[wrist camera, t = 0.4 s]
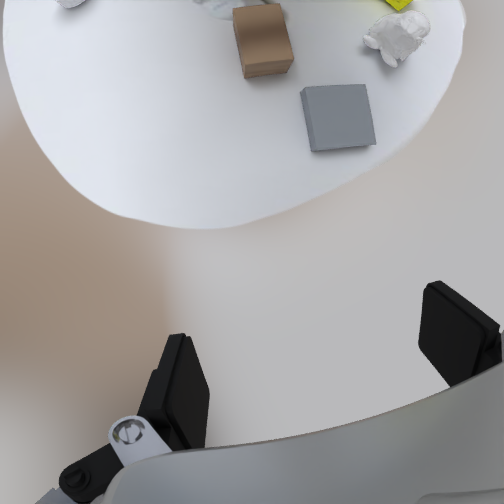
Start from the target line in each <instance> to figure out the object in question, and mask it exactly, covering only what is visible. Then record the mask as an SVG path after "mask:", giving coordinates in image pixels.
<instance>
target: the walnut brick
mask: <svg viewBox="0 0 504 504" xmlns="http://www.w3.org/2000/svg"><path fill="white" fill-rule="evenodd" d="M233 25H234V32H235V36H236V41H237V46H238V51H239V56H240V60H241V65H242V70H243V75H244V78H250V77H257V76H264V75H271V74H280V73H287V71H288V69H289V67H290V65H291V63H292V62H293V60H294V57H293V53H292V48H291V44H290V40H289V36H288V32H287V29H286V25H285V21H284V17H283V14H282V10H281V6H280V3H279V4H266V5H256V6H247V7H240V8H233Z"/></svg>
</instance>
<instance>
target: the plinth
mask: <svg viewBox="0 0 504 504" xmlns="http://www.w3.org/2000/svg"><path fill="white" fill-rule="evenodd" d="M300 94H301V99H302V104H303V109H304V114H305V119H306V124H307V130H308V135H309V141H310V147H311V151H319V150H327V149H335V148H344V147H354V146H364V145H376V139H375V133H374V127H373V121H372V116H371V110H370V105H369V100H368V95H367V90H366V86H365V84H354V85H331V86H316V87H305V88H304V89H303V90H302V91H301V92H300Z"/></svg>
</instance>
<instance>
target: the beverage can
mask: <svg viewBox="0 0 504 504" xmlns="http://www.w3.org/2000/svg"><path fill="white" fill-rule="evenodd" d="M55 1H56V2H58V3H59V4H60V5H62V6H63V7H66V8H72V7H75V6H77V5H79V4H81V3H82V2H84V1H85V0H55Z"/></svg>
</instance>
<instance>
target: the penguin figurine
mask: <svg viewBox="0 0 504 504" xmlns="http://www.w3.org/2000/svg"><path fill="white" fill-rule="evenodd" d="M369 31H370V32H369V36H368V35H365V36H363V40H364V42H365V43H366V45H367V46H368V47H370V48H373V49H380V50H381V55H382V58H383V60H384V61H385V62H386V63H387V64H388V65H390V66H391V67H393V68H396V67H397V66H398V64H397V61H396V60H395V59H399V58H400V60H401V61H404V60H405V59H406V58H407V56H408V55H410V54H411V53H412V52H414V51H415V50H416V49H418V48H419V46H421V45H420V44H421V43H423V42H424V41H422V40H423V39H422V38H424V37H425V36H427V34H428V33H429V31H430V23H429V20H428V18H427V17H426V16H425V15H424V14H423V13H421V12H418V11H413V10H411V11H406V12H404V13H403V14H395V13H394V14H390V15H387V16H384V17H382V18H381V19H379V20H378V21H377V22H375V24H374V26H373V27H371V28H370V29H369Z"/></svg>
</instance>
